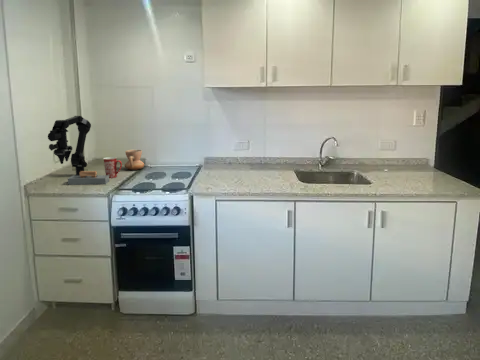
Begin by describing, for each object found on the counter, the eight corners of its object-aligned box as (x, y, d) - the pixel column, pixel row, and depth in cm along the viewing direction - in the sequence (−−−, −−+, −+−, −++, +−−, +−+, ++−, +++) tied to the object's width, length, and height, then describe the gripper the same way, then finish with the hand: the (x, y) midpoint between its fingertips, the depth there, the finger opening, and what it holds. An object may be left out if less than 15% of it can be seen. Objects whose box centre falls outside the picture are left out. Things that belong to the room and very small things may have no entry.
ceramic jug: (128, 166, 345) (127, 148, 342) (147, 167, 344) (146, 148, 341) (120, 171, 328) (119, 152, 325) (140, 171, 327) (139, 152, 323)
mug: (102, 178, 306) (100, 158, 303) (108, 175, 315) (107, 156, 312) (119, 178, 304) (118, 159, 301) (125, 176, 313) (123, 157, 310)
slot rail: (72, 181, 296) (72, 175, 295) (109, 181, 297) (108, 175, 296) (68, 184, 288) (67, 178, 287) (105, 184, 288) (105, 178, 287)
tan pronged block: (81, 180, 294) (81, 171, 292) (97, 180, 294) (96, 171, 293) (80, 182, 290) (79, 172, 289) (95, 181, 291) (94, 172, 289)
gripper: (55, 137, 303) (57, 160, 307) (44, 141, 285) (46, 165, 288) (71, 137, 303) (73, 160, 307) (61, 141, 285) (64, 165, 289)
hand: (64, 162), depth 298 cm, fingers open, 9 cm apart
